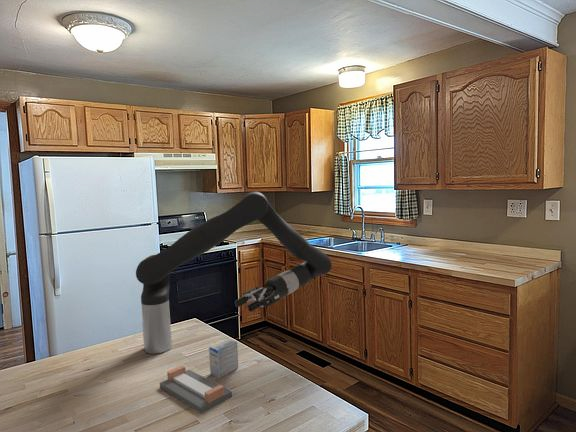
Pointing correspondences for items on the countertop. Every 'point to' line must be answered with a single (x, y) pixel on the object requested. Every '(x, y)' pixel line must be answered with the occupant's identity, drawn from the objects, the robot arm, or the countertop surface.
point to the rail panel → (194, 389)
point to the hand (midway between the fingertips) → (241, 306)
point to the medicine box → (223, 358)
